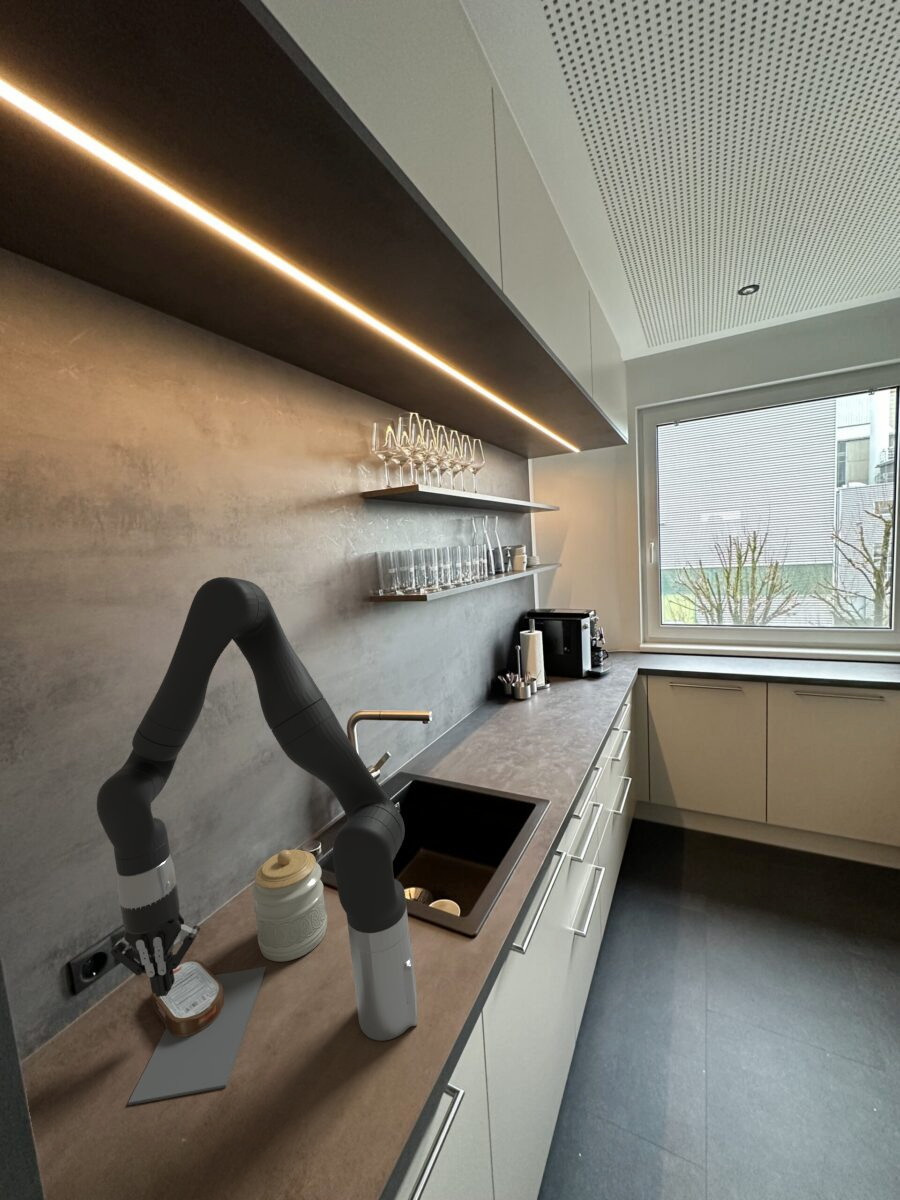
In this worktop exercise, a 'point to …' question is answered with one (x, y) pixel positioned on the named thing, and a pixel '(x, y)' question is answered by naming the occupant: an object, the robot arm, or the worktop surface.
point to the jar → (289, 905)
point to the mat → (202, 1046)
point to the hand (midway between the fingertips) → (164, 991)
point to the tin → (190, 1000)
